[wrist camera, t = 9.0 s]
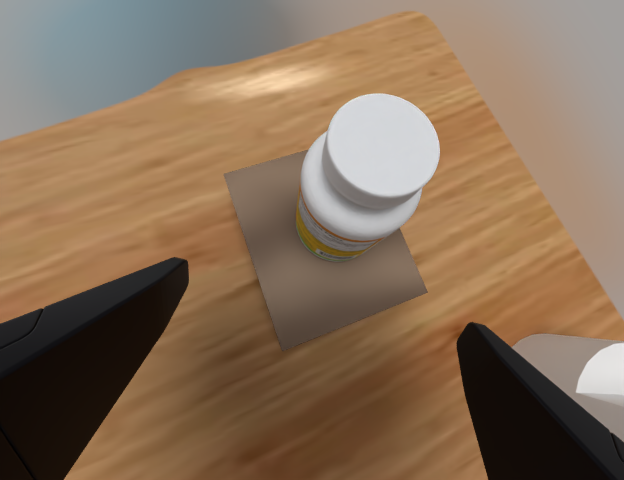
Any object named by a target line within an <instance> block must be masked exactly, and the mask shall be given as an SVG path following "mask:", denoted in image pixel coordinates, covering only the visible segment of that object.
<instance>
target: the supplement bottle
mask: <svg viewBox="0 0 624 480" xmlns="http://www.w3.org/2000/svg"><path fill="white" fill-rule="evenodd" d="M439 155H440V148H439V141H438V137H437V133H436V131H435V129H434V127H433V125H432V123H431V122H430V120H429V119H428V118H427V116H426V115H425V114H424V113H423V112H422V111H421V110H420V109H418V108H417V107H416V106H415V105H413V104H412V103H410V102H408V101H406V100H404V99H402V98H399V97H396V96H393V95H388V94H368V95H363V96H359V97H357V98H355V99H352V100H351V101H349V102H347V103H346V104H345V105H343V106H342V107H341V108H340V109H339V110H338V111H337V113H336V114H335V115H334V117H333V118H332V120H331V122H330V125H329V128H328V131H327V132H325V133H324V134H322V135H321V136H320V137H319V138H318V139H317V140H316V141H315V142H314V143H313V144H312V146H311V147H310V149H309V150H308V152H307V154H306V156H305V159H304V161H303V165H302V170H301V176H300V186H299V193H298V201H297V210H296V227H297V232H298V234H299V237H300V239H301V241H302V243H303V244H304V245H305V247H306V248H307V249H308V250H309V251H310V252H312V253H313V254H315V255H316V256H318V257H320V258H322V259H325V260H328V261H334V262H342V261H348V260H351V259H354V258H356V257H358V256H360V255H361V254H363V253H364V252H366V251H367V250H369V249H370V248H371V247H373V246H374V245H376V244H377V243H379V242H380V241H381V240H383V239H384V238H386V237H387V236H389V235H390V234H392V233H393V232H395V231H396V230H397V229H398V228H400V227H401V226H402V225H403V224H404V223H405V222H406V221H407V220H408V219H409V218H410V217H411V216H412V214H413V213H414V211H415V209H416V207H417V205H418V203H419V200H420V197H421V193H422V187H423V186H424V185H425V184H427V182H428V181H429V180H430V179H431V177H432V176H433V174H434V172H435V170H436V168H437V165H438V161H439Z"/></svg>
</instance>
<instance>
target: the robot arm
mask: <svg viewBox="0 0 624 480" xmlns="http://www.w3.org/2000/svg"><path fill="white" fill-rule="evenodd" d="M188 283H189V271H188V261H187V260H185V259H181V258H177V257H173V258H170V259H167V260H165V261H162V262H160V263H157V264H155V265H152V266H149V267H147V268H144V269H142V270H139V271H136V272H134V273H131V274H129V275H126V276H124V277H121V278H118V279H116V280H113V281H111V282H108V283H105V284H103V285H100V286H98V287H95V288H92V289H90V290H87V291H85V292H82V293H80V294H77V295H74V296H72V297H69V298H67V299H64V300H61V301H59V302H56V303H54V304H51V305H48V306H46V307H44V309H42V308H41V309H38V310H35V311H33V312H30V313H28V314H25V315H22V316H20V317H17V318H14V319H12V320H9V321H6V322H4V323H1V324H0V480H64V478H65V477H66V475H67V474H68V472H69V471H70V469H71V468H72V466H73V465H74V463H75V462H76V461H77V459H78V458H79V456H80V455H81V453H82V452H83V450H84V449H85V447H86V446H87V444H88V443H89V441H90V440H91V438H92V437H93V435H94V434H95V432H96V431H97V429H98V428H99V426H100V425H101V424H102V422H103V421H104V419H105V418H106V416H107V415H108V413H109V412H110V410H111V409H112V407H113V406H114V404H115V403H116V401H117V400H118V398H119V397H120V395H121V394H122V392H123V391H124V390H125V388H126V387H127V385H128V384H129V382H130V381H131V379H132V378H133V376H134V375H135V373H136V372H137V370H138V369H139V367H140V366H141V364H142V363H143V361H144V360H145V358H146V357H147V355H148V354H149V353H150V351H151V350H152V348H153V347H154V345H155V344H156V342H157V341H158V339H159V338H160V336H161V335H162V333H163V332H164V330H165V328H166V327H167V325H168V323H169V321H170V319H171V317H172V315H173V313H174V312H175V310H176V308H177V306H178V304H179V302H180V300H181V298H182V296H183V294H184V292H185V291H186V289H187V286H188ZM457 352H458V358H459V364H460V370H461V376H462V382H463V387H464V392H465V397H466V401H467V404H468V408H469V412H470V415H471V419H472V422H473V426H474V430H475V433H476V437H477V440H478V444H479V448H480V451H481V455H482V458H483V462H484V466H485V469H486V473H487V476H488V480H624V442H623V441H622V440H621V439H620V438H618V437H617V436H616V435H615V434H614V433H610V431H609V429H608V428H606V427H605V426H604V425H603V424H602V423H600V422H599V421H598V420H597V419H596V418H595V417H593V416H592V415H591V414H590V413H589V412H587V411H586V410H585V409H584V408H583V407H581V406H580V405H579V404H578V403H577V402H575V401H574V400H573V399H572V398H571V397H570V396H568V395H567V394H566V393H565V392H564V391H562V390H561V389H560V388H559V387H558V386H556V385H555V384H554V383H553V382H552V381H550V380H549V379H548V378H547V377H546V376H545V375H543V374H542V373H541V372H540V371H539V370H537V369H536V368H535V367H534V366H533V365H531V364H530V363H529V362H528V361H527V360H526V359H524V358H523V357H522V356H521V355H520V354H518V353H517V352H516V351H515V350H514V349H512V348H511V347H510V346H509V345H508V344H507V343H505V342H504V341H503V340H502V339H501V338H499V337H498V336H497V335H496V334H495V333H493V332H492V331H491V330H490V329H489V328H487V327H486V326H485V325H483V324H479V323H474V322H470V323H468V324H467V326H466V327H465V329H464V330H463V332H462V333H461V335H460V337H459V338H458V340H457Z"/></svg>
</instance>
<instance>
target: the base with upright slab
mask: <svg viewBox="0 0 624 480" xmlns="http://www.w3.org/2000/svg"><path fill="white" fill-rule="evenodd" d="M512 349H514V350H515V351H516V352H517V353H518V354H520V355H521V356H522V357H523V358H524V359H526V360H527V361H528V362H529V363H530V364H531V365H533V366H534V367H535V368H536V369H537V370H539V371H540V372H541V373H542V374H543V375H545V376H546V377H547V378H548V379H549V380H550V381H552V382H553V383H554V384H555V385H556V386H558V387H559V388H560V389H561V390H562V391H564V392H565V393H566V394H567V395H568V396H570V397H571V398H572V399H573V400H574V401H575V402H577V403H578V404H579V405H580V406H581V407H583V408H584V409H585V410H586V411H587V412H589V413H590V414H591V415H592V416H593V417H595V418H596V419H597V420H598V421H599V422H600V423H602V424H603V425H604V426H605V427H606V428H608V429H609V431H610V433H614V434H615V435H616V436H617V437H618V438H620V439H621V440H622V441H623V442H624V341H615V340H605V339H595V338H585V337H576V336H566V335H556V334H546V333H544V334H533V335H530V336H528V337H525V338H523V339H521V340H519V341H518V342H517V343H516V344H515V345H514V346H513V347H512Z"/></svg>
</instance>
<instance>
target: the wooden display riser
mask: <svg viewBox="0 0 624 480" xmlns="http://www.w3.org/2000/svg"><path fill="white" fill-rule="evenodd" d="M307 152H308V150H306V151H302V152H299V153H295V154H292V155H288V156H285V157H281V158H278V159H274V160H271V161H267V162H264V163H260V164H257V165H253V166H250V167H246V168H243V169H239V170H236V171H232V172H229V173H225V174H224V177H225V180H226V183H227V186H228V189H229V192H230V195H231V198H232V201H233V204H234V207H235V210H236V213H237V216H238V219H239V222H240V225H241V228H242V231H243V234H244V237H245V240H246V243H247V246H248V250H249V253H250V256H251V259H252V262H253V265H254V268H255V271H256V274H257V277H258V280H259V283H260V286H261V289H262V292H263V295H264V298H265V301H266V304H267V307H268V310H269V313H270V316H271V319H272V322H273V325H274V328H275V331H276V334H277V337H278V340H279V343H280V346H281V349H282V351H284V350H287V349H289V348H292V347H294V346H297V345H299V344H302V343H304V342H306V341H309V340H311V339H314V338H316V337H319V336H321V335H324V334H326V333H329V332H331V331H334V330H336V329H339V328H341V327H344V326H346V325H349V324H351V323H354V322H356V321H358V320H361V319H363V318H366V317H368V316H371V315H373V314H376V313H378V312H381V311H383V310H386V309H388V308H391V307H393V306H396V305H398V304H401V303H403V302H405V301H408V300H410V299H413V298H415V297H418V296H420V295H423V294H425V293H428V291H427V289H426V287H425V285H424V282H423V280H422V278H421V276H420V273H419V271H418V269H417V267H416V264H415V262H414V260H413V258H412V255H411V253H410V251H409V248H408V246H407V244H406V242H405V239H404V237H403V235H402V233H401V230H400V228H398V229H397V230H396V231H395V232H393V233H392V234H390V235H389V236H387V237H386V238H384V239H383V240H381V241H380V242H379V243H377V244H376V245H374V246H373V247H371V248H370V249H369V250H367V251H366V252H364V253H363V254H361V255H360V256H358V257H356V258H354V259H351V260H348V261H342V262H334V261H328V260H325V259H322V258H320V257H318V256H316V255H315V254H313V253H312V252H310V251H309V250H308V249H307V248H306V247H305V245H304V244H303V243H302V241H301V239H300V237H299V234H298V232H297V227H296V210H297V201H298V193H299V186H300V176H301V170H302V165H303V161H304V159H305V156H306V154H307Z"/></svg>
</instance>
